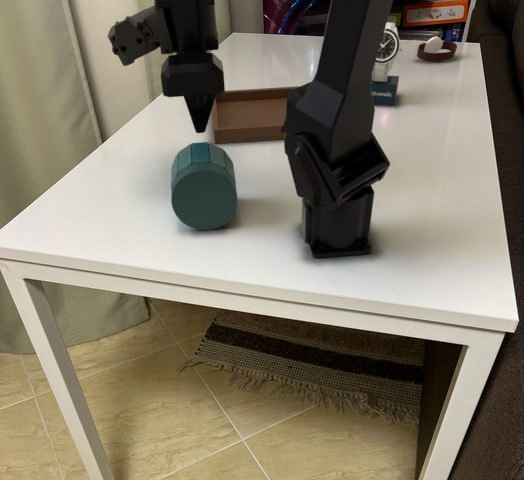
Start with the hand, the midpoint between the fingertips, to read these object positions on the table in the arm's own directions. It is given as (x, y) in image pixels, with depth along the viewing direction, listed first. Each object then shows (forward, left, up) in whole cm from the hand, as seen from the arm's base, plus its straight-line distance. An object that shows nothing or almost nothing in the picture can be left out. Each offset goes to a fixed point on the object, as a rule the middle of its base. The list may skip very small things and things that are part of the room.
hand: (200, 131), depth 66 cm
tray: (-9, -19, -6) cm, 22 cm away
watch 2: (-45, -43, -7) cm, 63 cm away
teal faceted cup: (0, +8, -6) cm, 11 cm away
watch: (-29, -24, -7) cm, 38 cm away
